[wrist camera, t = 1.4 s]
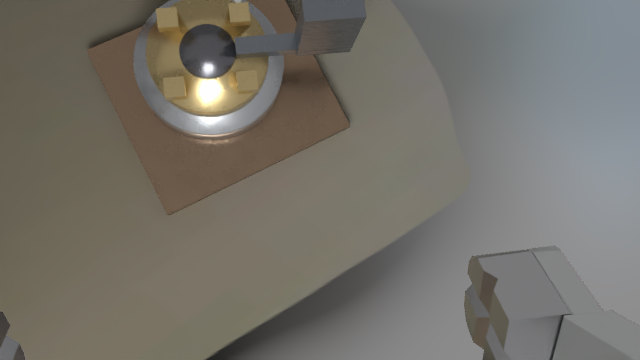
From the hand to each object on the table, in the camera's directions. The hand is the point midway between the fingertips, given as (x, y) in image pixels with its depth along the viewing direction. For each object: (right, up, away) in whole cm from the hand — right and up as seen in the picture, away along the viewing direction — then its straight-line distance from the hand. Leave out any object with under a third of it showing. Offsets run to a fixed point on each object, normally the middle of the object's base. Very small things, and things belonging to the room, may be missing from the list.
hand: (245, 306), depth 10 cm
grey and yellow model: (-5, +14, +45) cm, 47 cm away
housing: (-9, +11, +49) cm, 51 cm away
